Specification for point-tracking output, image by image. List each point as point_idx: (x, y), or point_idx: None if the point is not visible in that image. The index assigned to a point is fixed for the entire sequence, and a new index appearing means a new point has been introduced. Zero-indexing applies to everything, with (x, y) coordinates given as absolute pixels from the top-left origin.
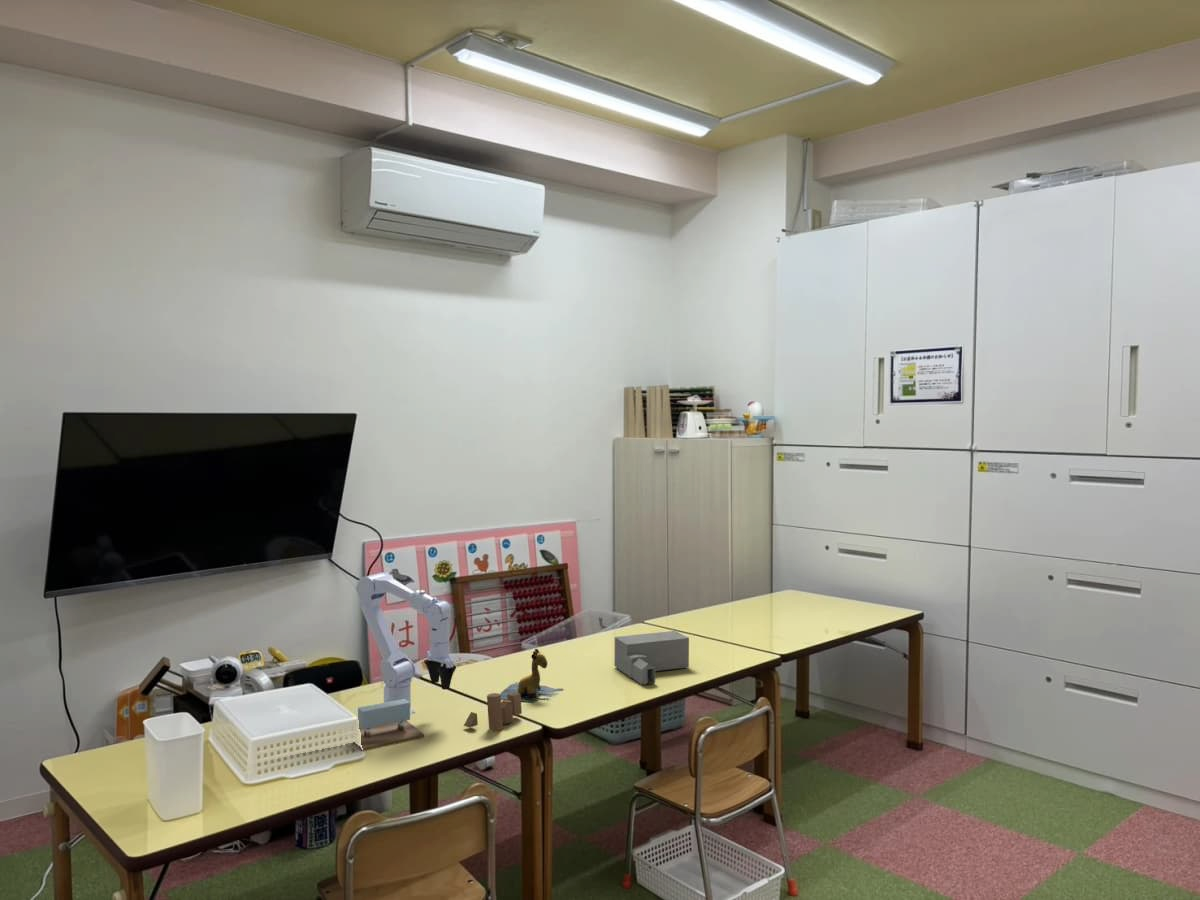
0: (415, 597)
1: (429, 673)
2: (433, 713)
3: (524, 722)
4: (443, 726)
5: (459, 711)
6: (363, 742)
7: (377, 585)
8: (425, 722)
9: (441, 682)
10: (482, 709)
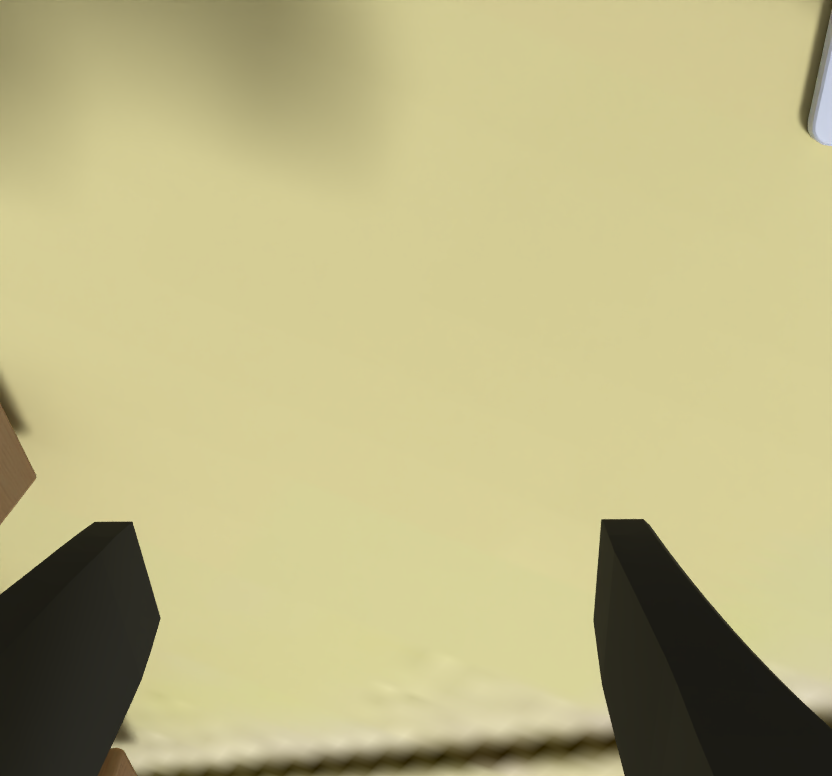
0: None
1: (722, 654)
2: (642, 314)
3: None
4: (193, 247)
5: (526, 530)
6: None
7: None
8: (415, 120)
9: (13, 607)
10: (455, 674)
